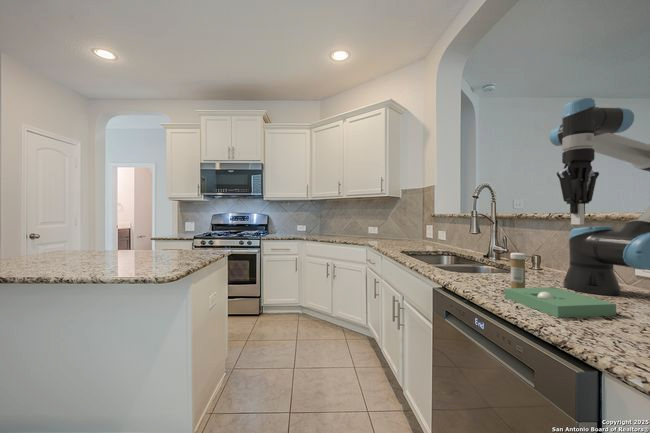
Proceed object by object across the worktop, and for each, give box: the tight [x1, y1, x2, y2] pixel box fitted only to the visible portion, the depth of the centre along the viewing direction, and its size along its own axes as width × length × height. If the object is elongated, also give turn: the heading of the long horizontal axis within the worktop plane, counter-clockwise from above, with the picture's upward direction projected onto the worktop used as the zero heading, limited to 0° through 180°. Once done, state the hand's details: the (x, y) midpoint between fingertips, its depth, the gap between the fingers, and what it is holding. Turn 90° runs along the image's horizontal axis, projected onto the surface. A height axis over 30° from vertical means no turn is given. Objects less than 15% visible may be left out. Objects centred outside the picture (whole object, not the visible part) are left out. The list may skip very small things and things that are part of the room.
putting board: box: [504, 286, 617, 319], centre depth 83 cm, size 18×18×3 cm
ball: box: [537, 292, 554, 299], centre depth 82 cm, size 4×4×4 cm
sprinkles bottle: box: [509, 252, 527, 288], centre depth 100 cm, size 5×5×14 cm
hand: (577, 224), depth 87 cm, fingers closed
